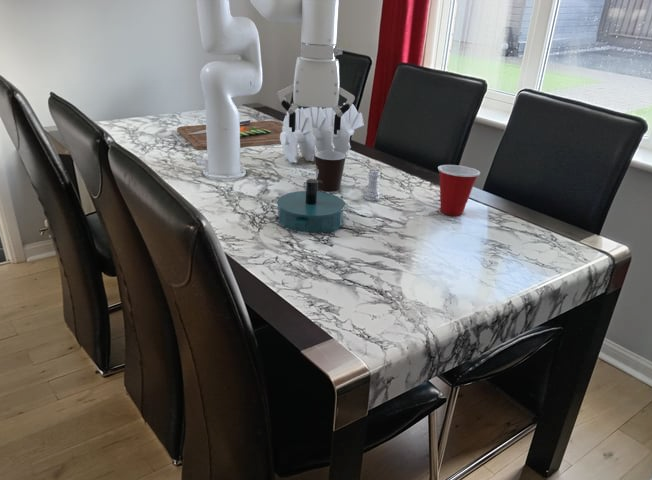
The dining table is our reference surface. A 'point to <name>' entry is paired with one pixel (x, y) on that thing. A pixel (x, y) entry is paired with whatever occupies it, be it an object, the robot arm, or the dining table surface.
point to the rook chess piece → (372, 186)
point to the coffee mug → (329, 170)
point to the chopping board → (248, 134)
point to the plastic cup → (455, 187)
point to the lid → (311, 202)
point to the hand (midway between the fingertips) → (314, 131)
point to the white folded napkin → (318, 132)
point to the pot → (310, 223)
